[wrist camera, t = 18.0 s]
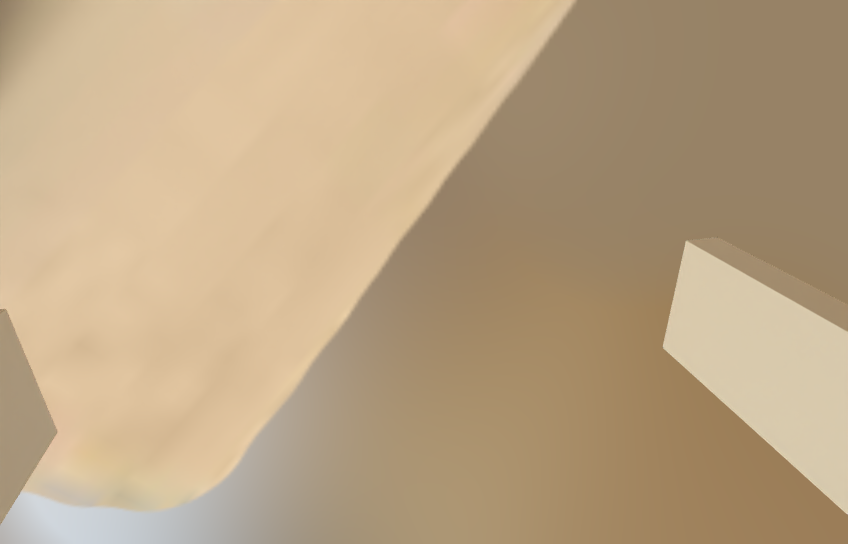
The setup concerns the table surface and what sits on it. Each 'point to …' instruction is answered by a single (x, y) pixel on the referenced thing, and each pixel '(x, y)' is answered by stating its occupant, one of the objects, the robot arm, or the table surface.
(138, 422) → the table surface
